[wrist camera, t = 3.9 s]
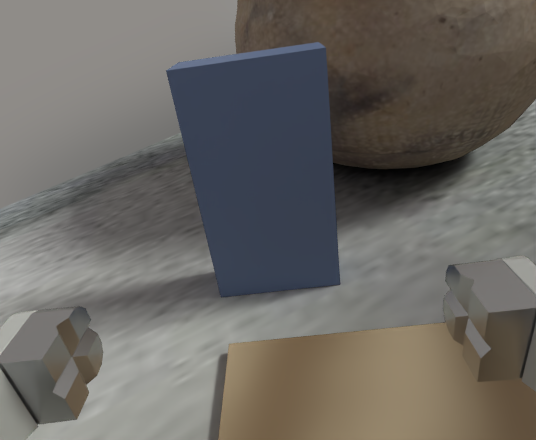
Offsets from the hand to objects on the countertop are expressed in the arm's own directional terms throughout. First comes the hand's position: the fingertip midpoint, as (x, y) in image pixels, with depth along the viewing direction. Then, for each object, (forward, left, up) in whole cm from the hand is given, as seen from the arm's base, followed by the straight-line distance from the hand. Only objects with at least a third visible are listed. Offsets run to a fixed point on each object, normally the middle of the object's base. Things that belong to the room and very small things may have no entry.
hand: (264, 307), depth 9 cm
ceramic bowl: (-9, -24, -6) cm, 26 cm away
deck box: (0, -9, -6) cm, 10 cm away
